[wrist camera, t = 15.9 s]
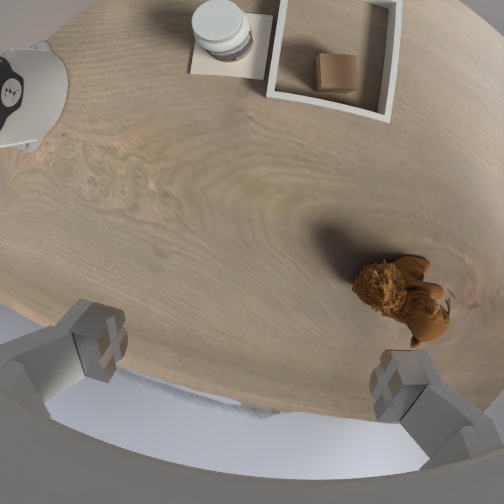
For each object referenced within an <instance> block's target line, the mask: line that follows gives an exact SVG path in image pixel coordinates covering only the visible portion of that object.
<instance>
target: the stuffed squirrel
mask: <svg viewBox="0 0 504 504" xmlns="http://www.w3.org/2000/svg"><path fill="white" fill-rule="evenodd" d="M429 268H430V262H429V261H428V260H426V259H423V258H418V257H412V256H404V257H402V258H399V259H397V260H396V261H394V262H392V263H387V262H385V259H384V261H383V264H382V263H381V264H378V263H376V262H375V263H374V264H368V265H365V266H364V267H363V268H362V270H361V271H360V274H359V275H357V276H356V278H355V282H354V283H353V288H352V291H354V292H355V293H357V295H358V296H359V298H360V300H362V301H363V303H366V304H368V305H371V308H372V309H376V310H375V312H378V311H379V310H380V311H381V312H382V314H383V316H387V317H390V318H393V319H395V320H396V321H399V322H401V323H404V324H406V325H407V326H408V328H409V329H410V330H411V332H412V334H413V337H412V339H411V345H410V346H411V348H412V349H416V348H418V347H419V346H420V345H421V343H422V342H429V341H432V340H434V339H435V338H437V337H439V336H440V335H442V334H443V333H444V332H446V330H447V329H448V328H449V326H450V317H449V315H450V298H448V301H449V304H448V301H447V299H445V301H446V303H447V306H448V312H447V311H446V310H445V309H444V308H443V307H442V306H441V305H440V304H439V303H438V302H436V301H435V300H434V299H440V298H442V296H443V294H444V291H443V288H442V287H441V286H440V285H438V284H436V283H428V282H423V278H424V274H425V273H426V272H427V271H428V270H429ZM382 314H381V315H382Z"/></svg>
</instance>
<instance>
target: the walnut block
mask: <svg viewBox="0 0 504 504" xmlns="http://www.w3.org/2000/svg"><path fill="white" fill-rule="evenodd" d="M314 69H315V89H316V92H336V93H349V92H352V91H355V90H358V82H357V64H356V56H354V55H343V54H329V53H319V55H318V56H317V58H316V59H315V61H314Z"/></svg>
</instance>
